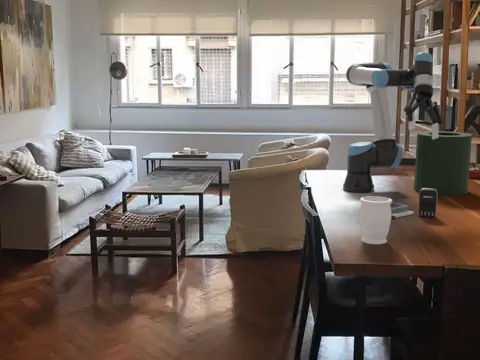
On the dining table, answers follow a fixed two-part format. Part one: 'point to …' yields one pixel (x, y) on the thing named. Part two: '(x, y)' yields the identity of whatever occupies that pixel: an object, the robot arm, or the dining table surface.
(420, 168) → the flower pot
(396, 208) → the panel board
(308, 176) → the dining table surface
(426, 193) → the black rounded block
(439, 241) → the dining table surface
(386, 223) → the jar
